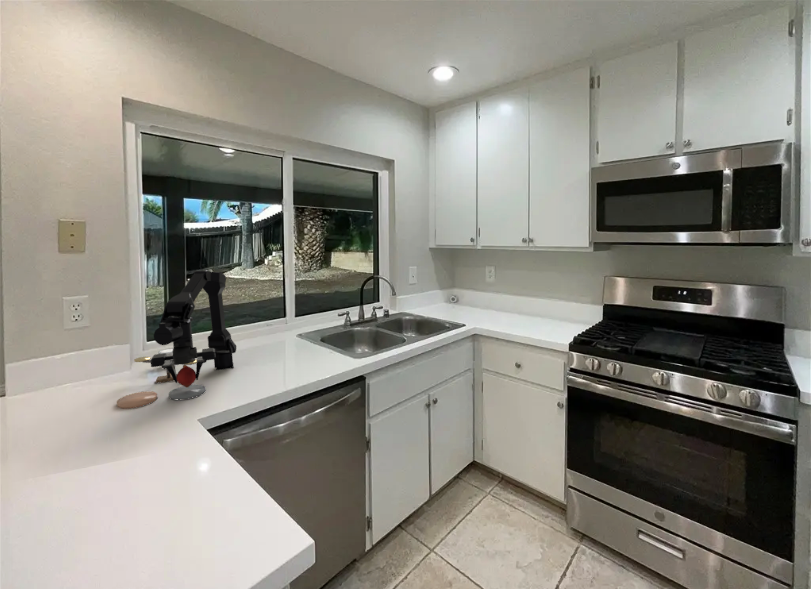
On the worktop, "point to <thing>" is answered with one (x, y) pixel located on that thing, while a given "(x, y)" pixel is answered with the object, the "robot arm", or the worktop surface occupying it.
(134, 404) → the terracotta dish
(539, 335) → the worktop surface
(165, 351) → the white cylinder
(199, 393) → the slate dish
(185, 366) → the onion
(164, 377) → the balance
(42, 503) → the worktop surface
